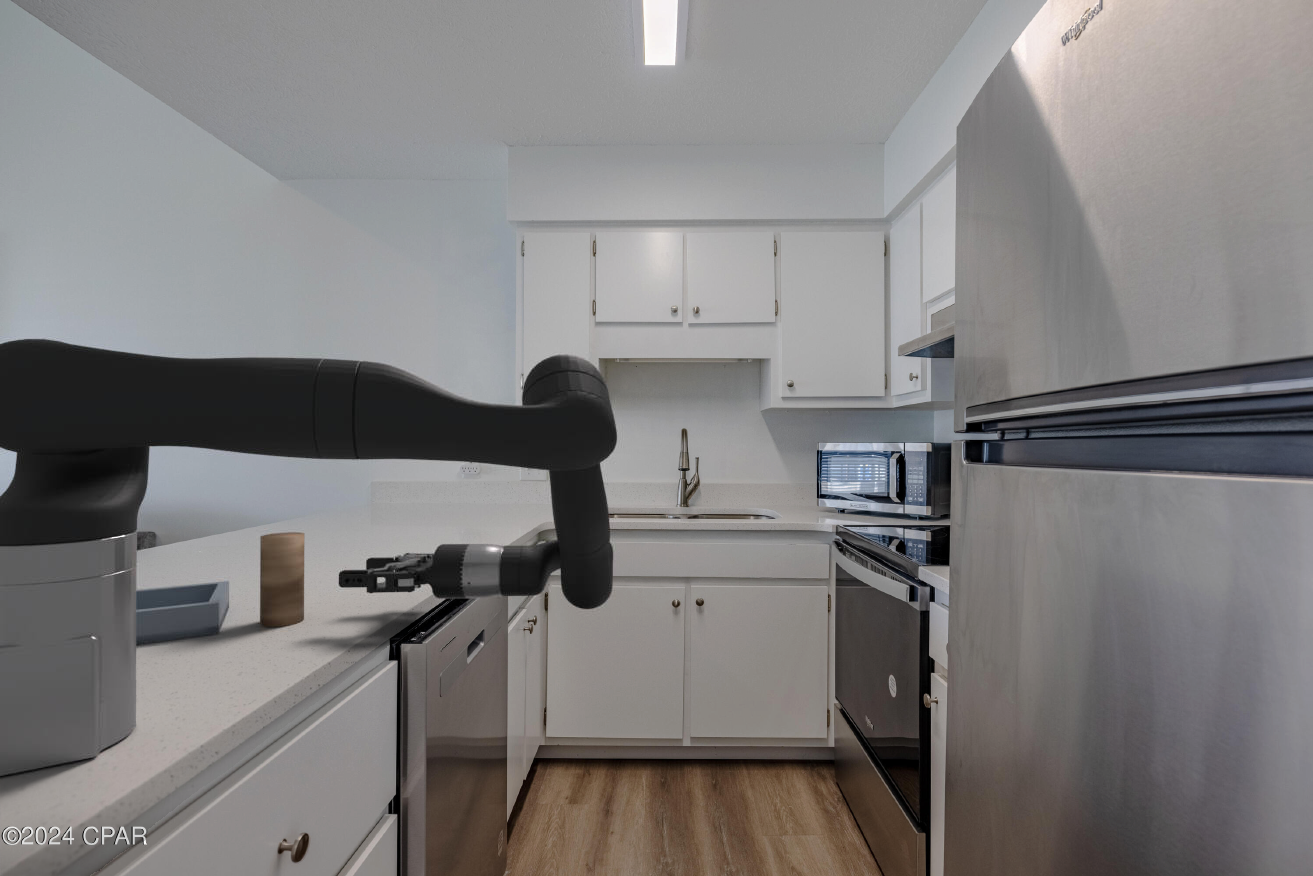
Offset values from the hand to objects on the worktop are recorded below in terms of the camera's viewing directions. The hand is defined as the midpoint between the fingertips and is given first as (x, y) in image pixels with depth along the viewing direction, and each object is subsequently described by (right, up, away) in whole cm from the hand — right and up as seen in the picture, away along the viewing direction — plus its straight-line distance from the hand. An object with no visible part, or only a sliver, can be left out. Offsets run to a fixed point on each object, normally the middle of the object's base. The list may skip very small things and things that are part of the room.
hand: (354, 571), depth 84 cm
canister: (-10, -7, -1) cm, 12 cm away
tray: (-24, -7, -4) cm, 25 cm away
